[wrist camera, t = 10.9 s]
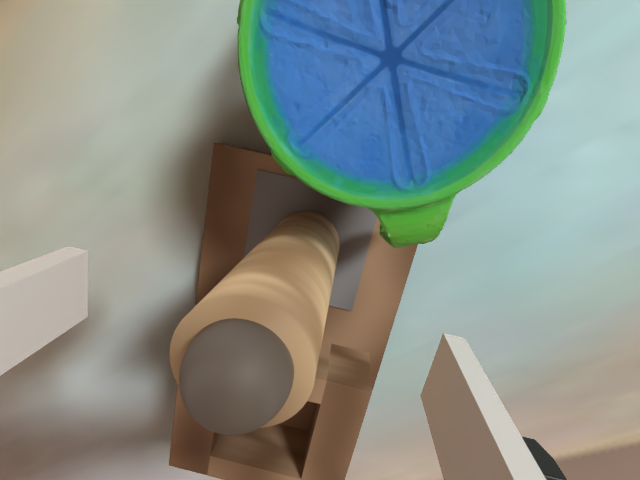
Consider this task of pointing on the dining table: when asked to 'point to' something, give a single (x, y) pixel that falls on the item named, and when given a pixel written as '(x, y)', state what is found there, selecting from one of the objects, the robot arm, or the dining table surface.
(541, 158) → the dining table surface
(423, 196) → the snack cup
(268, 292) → the pepper mill
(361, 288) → the caddy
